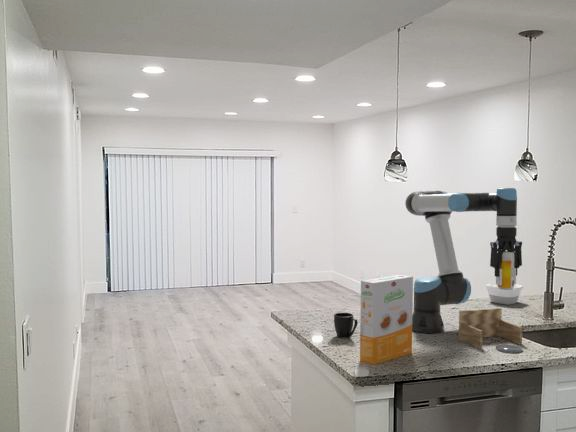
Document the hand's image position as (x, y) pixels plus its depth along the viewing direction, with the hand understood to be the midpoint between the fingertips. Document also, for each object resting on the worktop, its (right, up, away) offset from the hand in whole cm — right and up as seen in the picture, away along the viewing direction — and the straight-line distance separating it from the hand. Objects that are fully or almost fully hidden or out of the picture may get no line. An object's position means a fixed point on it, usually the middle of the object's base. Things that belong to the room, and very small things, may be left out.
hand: (505, 284), depth 233 cm
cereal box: (-50, -27, -11) cm, 57 cm away
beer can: (0, -2, 0) cm, 2 cm away
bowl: (+32, -20, +88) cm, 96 cm away
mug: (-62, -25, +15) cm, 69 cm away
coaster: (+1, -26, -1) cm, 26 cm away
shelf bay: (-3, -25, +10) cm, 27 cm away
